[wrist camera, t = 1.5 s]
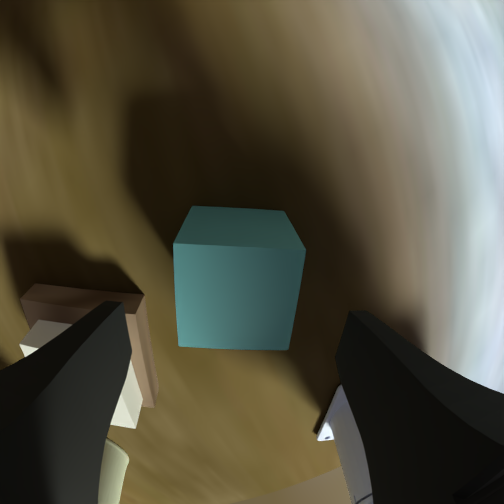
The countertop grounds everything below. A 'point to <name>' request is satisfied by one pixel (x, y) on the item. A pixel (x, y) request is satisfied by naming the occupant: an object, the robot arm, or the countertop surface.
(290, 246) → the teal block
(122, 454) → the can
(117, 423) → the white block
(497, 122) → the countertop surface
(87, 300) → the walnut slab
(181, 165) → the countertop surface
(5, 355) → the countertop surface
